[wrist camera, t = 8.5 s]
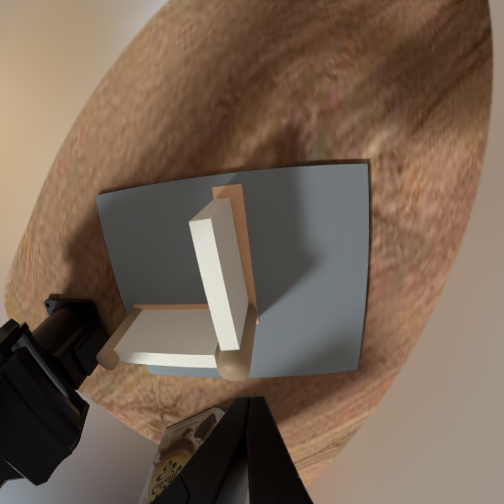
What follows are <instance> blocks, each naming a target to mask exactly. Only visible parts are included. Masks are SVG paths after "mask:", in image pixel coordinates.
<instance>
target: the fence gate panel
mask: <svg viewBox="0 0 504 504" xmlns="http://www.w3.org/2000/svg"><path fill="white" fill-rule="evenodd" d="M189 226H190V230H191V235H192V239H193V243H194V248H195V252H196V256H197V261H198V265H199V269H200V273H201V277H202V281H203V285H204V289H205V293H206V297H207V301H208V305H209V309H210V313H211V316H212V320H213V324H214V327H215V331H216V335H217V338H218V342H219V345H220V349H221V351H224V350H240V344H241V339H242V334H243V329H244V324H245V318H246V313H247V308H248V303H249V301H248V296H247V290H246V285H245V280H244V274H243V269H242V264H241V258H240V253H239V247H238V242H237V236H236V231H235V225H234V220H233V214H232V208H231V203H230V197H229V198H223V199H217V200H213V201H212V202H210V203H209V204H208V205H207V206H206V207H205V208H204V209H202V210H201V211H200V212H199V213H198V214H197V215H196V216H195V217H194V218H192V219H191V220H190V221H189Z"/></svg>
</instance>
